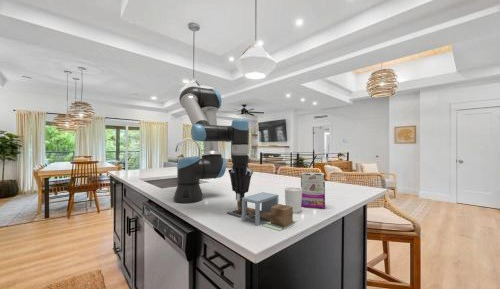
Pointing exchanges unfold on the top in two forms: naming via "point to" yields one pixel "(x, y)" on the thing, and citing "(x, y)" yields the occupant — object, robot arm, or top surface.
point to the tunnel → (267, 202)
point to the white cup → (293, 198)
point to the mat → (276, 227)
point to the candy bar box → (313, 190)
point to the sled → (273, 214)
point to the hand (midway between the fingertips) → (240, 207)
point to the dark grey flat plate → (236, 213)
